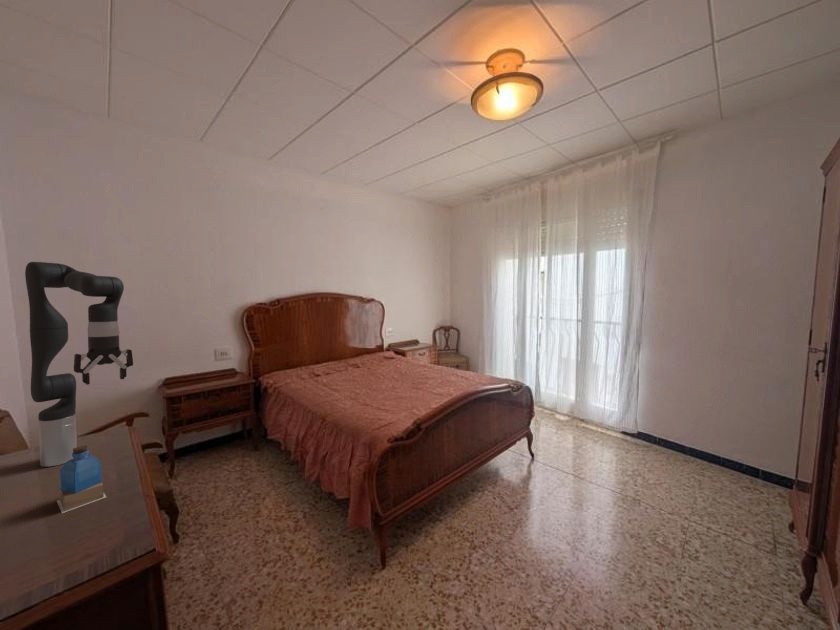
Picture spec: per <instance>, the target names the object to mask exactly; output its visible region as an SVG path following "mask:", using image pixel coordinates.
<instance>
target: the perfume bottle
mask: <svg viewBox="0 0 840 630" xmlns="http://www.w3.org/2000/svg"><path fill="white" fill-rule="evenodd" d="M88 447H89V446H88V445H87V444H86V445H80V446H77V447H76V448H74V449H73V453H72V457H73V458H74V459H71V460H68V461H67V462H66V463H64V464H63V466H62V467H61V468H60V470H59V471H60V472H59V473H60V474H59V475H60V477H59V478H60V479H59V480H60V488H61V491H66V492H70V493H75V494H76V493H79V492H81V491H83V490H85V489H87V488H89V487H92V486H94V485H96V484H98V483H100V482H102V462H101V461H100V460H99V459H98V458H97V457H95V456H94V455H90V454H89V452H90V451H89V449H88Z"/></svg>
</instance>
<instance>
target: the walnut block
mask: <svg viewBox="0 0 840 630" xmlns="http://www.w3.org/2000/svg"><path fill="white" fill-rule="evenodd" d="M103 492H104V484H103V481H101V482H100V483H98V484H96V485H94V486H92V487H89V488H87V489H85V490H83V491H81V492H79V493H76V494H75V493H70V492H66V491H61V487H59V500H60V501H61V504H62V506H63V508H64V510H65V511H67V510H70V509H72V508H75V507H78V506H81V505H83V504H86V503H89V502H92V501H94V500H97V499H100V498H103V497H104V494H105V493H104V494H103ZM103 499H104V498H103ZM100 500H101V499H100ZM97 501H98V500H97ZM92 503H93V502H92ZM89 504H90V503H89ZM86 505H87V504H86ZM81 507H82V506H81ZM78 508H79V507H78ZM75 509H76V508H75ZM70 511H71V510H70ZM67 512H68V511H67Z"/></svg>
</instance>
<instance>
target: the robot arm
mask: <svg viewBox="0 0 840 630" xmlns="http://www.w3.org/2000/svg"><path fill="white" fill-rule="evenodd" d="M24 271H25V272H24V277H25V284H26V290H27V297H28V305H29V306H28V307H29V337H30V339H29V340H30V352H31V373H30V396H31V400H33V401H34V402H36V403H44V402H50V401H54V400H59V401H57V402H56V403H55V404H53V405H51V406H49V407H46V408H45V409H42V410H41V411H39V413H38V415H37V417H38V431H39V432H38V435H39V459H40V460H39V461H40V464H39V465H40V467H42V468H43V467H44V468H45V467H46V468H48V467H55V466H59V465H65V463H66V462H67V461H68V460H71V459H74V458H73V457H72V453H73V449H74V448H76V447H78V445H77V444H78V441H77V439H78V438H77V421H76V419H77V418H76V417H77V416H76V415H77V414H76V410H77V409H76V408H77V403H76V402H77V400H76V398H77V380H76V376H75V375H73V373H70V372H69V373H68V372H66V373H60V374H52V375H47V374H48V370H49V367H50V365H51V363H52V362H53V360H54V359H55V358H56V356H57V355H58V354H59V353H60V352H61V351H62V349H64V347H65V346H66V345H67V343H68V341H69V325H68V321H67V320H66V318H65V317H64V316H63V315H62V313H60V312H59V311H58V310H57V309H56V307H54V306H53V305H52V304H51V302H50V301H49V300H48V297H47V295H46V294H47V293H46V291H45V289H46V288H50V289H51V288H52V289H62V288H68V289H70V290H73V291H76V292H79V293H81V294H82V295H83V296H86V297H90V298H91V297H93V298H94V297H97V298H98V297H100V298H102V297H103V298H105V300H103V302H99V303H94V304H91V305H89V306H88V308H87V313H88V314H87V315H88V323H87V324H88V326H87V346H88V347H87V349H88V350H87V351H88V352H86V353H74V356H73V358H74V360H73V372H75V373H77V374H78V373H79V374H81V375H82V377H81V378H82V383H83V384H85V385H90V384H91V383H90V377H91V376H90V371H91V370H92V369H93V368H95V366H96V365H99V366H103V365H111V364H114V363H115V364H116V365H117V366H118V367H120V368H119V379H120V380H125V378H126V377H127V368H130V367H132V366H133V365H134V360H133V351H132V349H130V348H126V349H124V350H121V348H120V327H119V322H118V319H119V318H118V317H119V316H118V309H119V305H120V302H121V299H122V296H123V293H124V289H125V287H124V283H123V281H122V280H121V279H120V278H119V277H116V276H107V275H96V274H93V273H89V272H84V271H79V270H77V269H74V268H73V267H71V266H69V265H66V264H64V263H57V262H43V261H30V262H28V263H27V265H26V266H25V270H24ZM121 355H123V356H125V359H126V363H123V361H122V360H120V359H119V357H120V356H121ZM85 358H87V359H89V362H88V363H86V365H85V366H84V367H83V368H81V367H82V366H81V365H82V361H84V360H85Z"/></svg>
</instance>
